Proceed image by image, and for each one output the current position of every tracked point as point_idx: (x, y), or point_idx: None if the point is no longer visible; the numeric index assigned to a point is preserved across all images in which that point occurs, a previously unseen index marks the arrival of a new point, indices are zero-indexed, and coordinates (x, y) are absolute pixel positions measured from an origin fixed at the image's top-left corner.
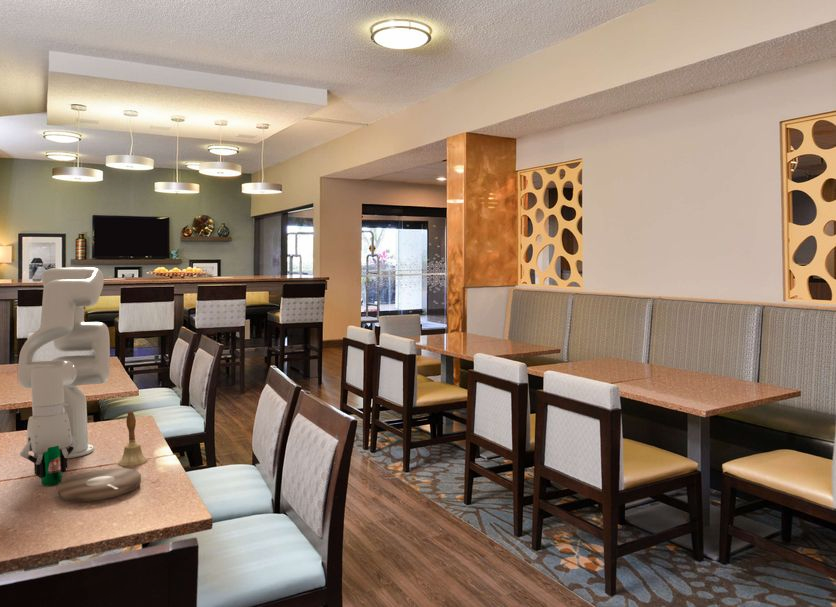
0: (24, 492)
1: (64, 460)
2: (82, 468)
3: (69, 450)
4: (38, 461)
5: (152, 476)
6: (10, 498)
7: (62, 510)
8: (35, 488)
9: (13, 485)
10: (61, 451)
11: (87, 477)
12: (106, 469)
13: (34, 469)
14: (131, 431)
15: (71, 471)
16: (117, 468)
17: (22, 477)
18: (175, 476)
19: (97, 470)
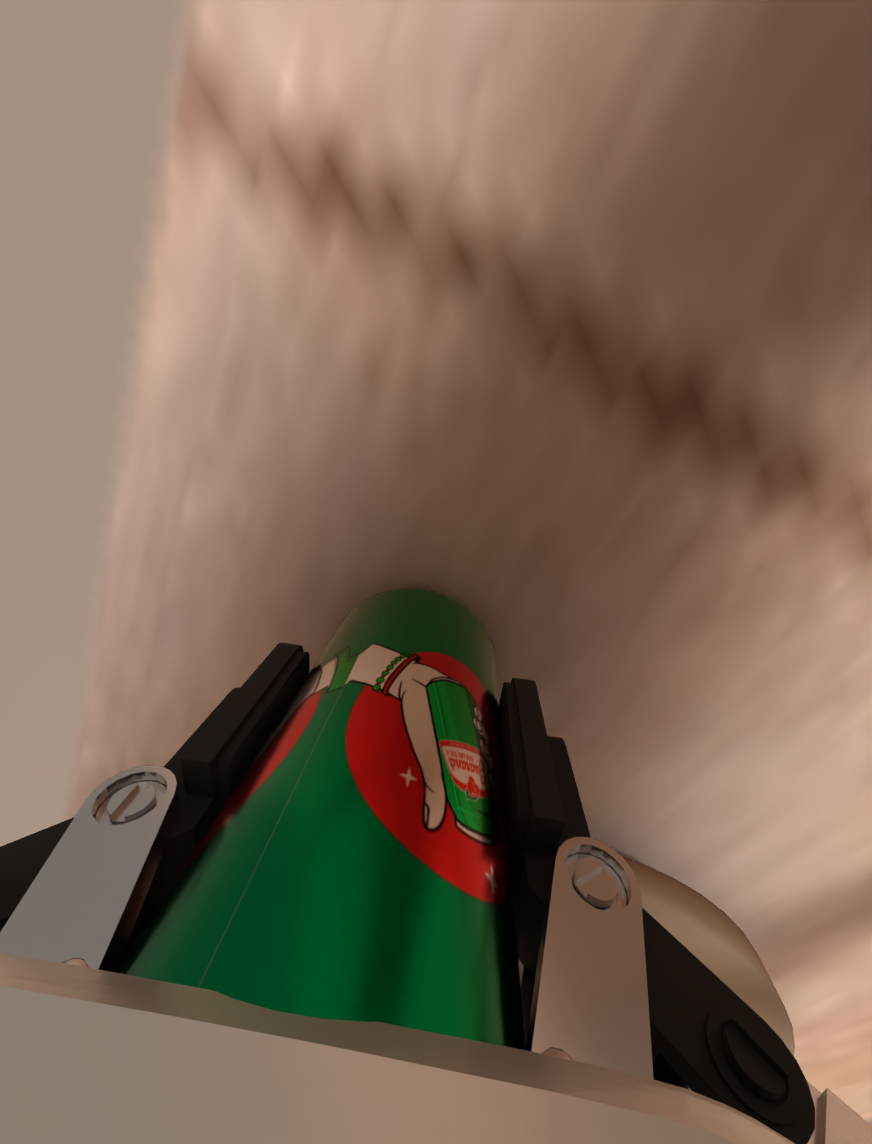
0: (205, 651)
1: None
2: (847, 511)
3: (657, 1077)
4: (144, 923)
5: (820, 1036)
6: (107, 676)
7: None
8: (288, 643)
9: (182, 397)
10: (577, 965)
11: (520, 966)
12: (723, 960)
13: (206, 719)
14: None
15: (722, 500)
16: (775, 1002)
17: (327, 179)
18: (857, 1107)
19: (674, 926)
